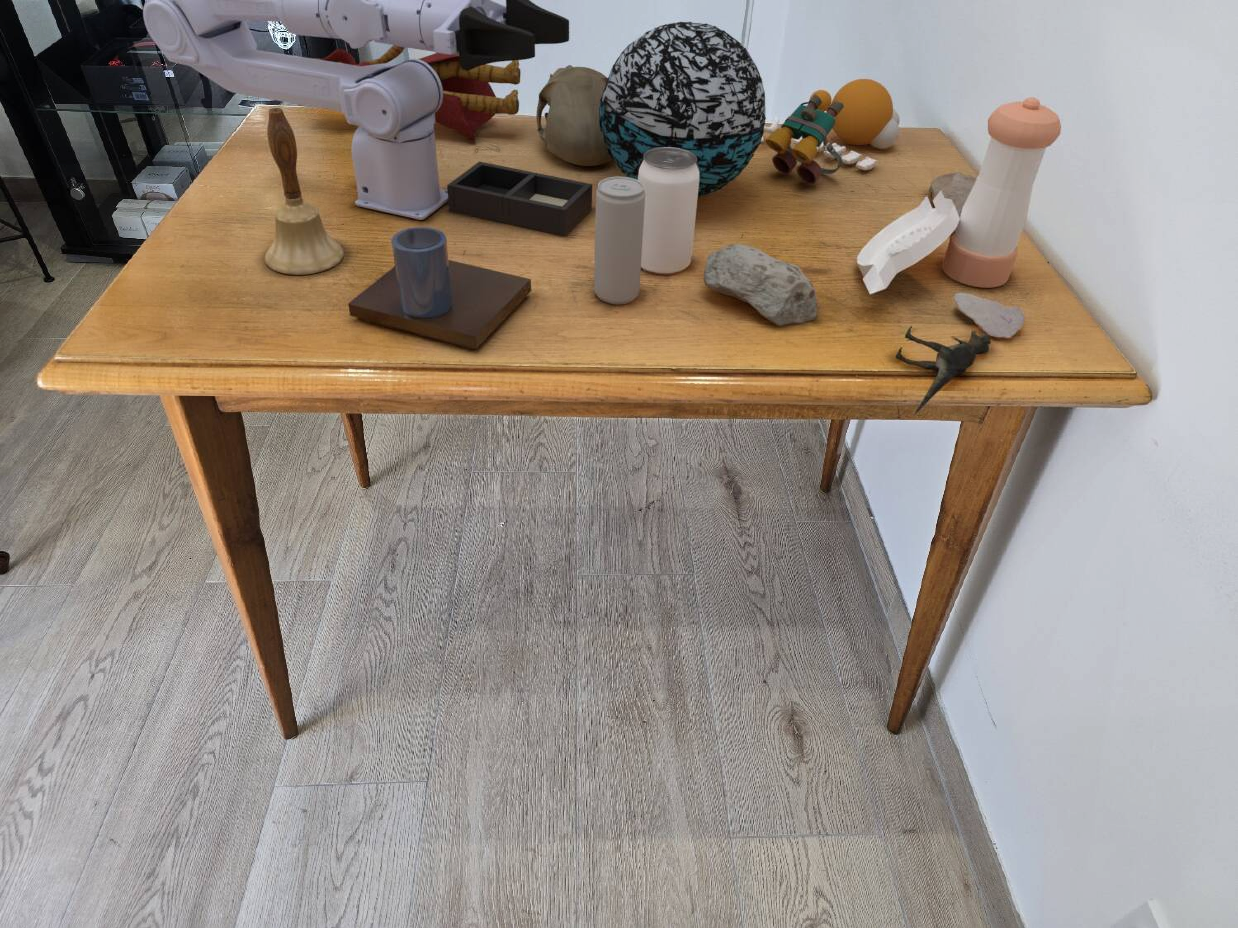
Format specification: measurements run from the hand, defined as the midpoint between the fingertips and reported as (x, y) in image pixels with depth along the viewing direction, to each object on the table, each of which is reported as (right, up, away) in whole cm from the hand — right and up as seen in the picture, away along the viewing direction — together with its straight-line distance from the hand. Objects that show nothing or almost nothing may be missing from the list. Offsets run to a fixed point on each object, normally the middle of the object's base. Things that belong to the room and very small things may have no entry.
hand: (551, 38), depth 89 cm
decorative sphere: (+14, -8, +24) cm, 29 cm away
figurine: (-6, +9, +36) cm, 38 cm away
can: (+12, -20, +11) cm, 26 cm away
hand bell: (-28, -20, +8) cm, 35 cm away
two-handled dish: (+39, -19, +9) cm, 45 cm away
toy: (+33, +6, +39) cm, 51 cm away
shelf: (-11, -27, +1) cm, 29 cm away
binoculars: (+31, -5, +30) cm, 43 cm away
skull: (0, +3, +37) cm, 37 cm away
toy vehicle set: (+37, +2, +34) cm, 50 cm away
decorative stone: (+22, -26, +5) cm, 34 cm away
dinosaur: (+33, -32, -4) cm, 46 cm away
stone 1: (+51, -12, +24) cm, 58 cm away
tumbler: (-12, -27, -2) cm, 30 cm away
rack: (-5, -12, +19) cm, 23 cm away
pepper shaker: (+47, -21, +11) cm, 53 cm away
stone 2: (+45, -28, +3) cm, 53 cm away
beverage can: (+7, -25, +5) cm, 26 cm away
